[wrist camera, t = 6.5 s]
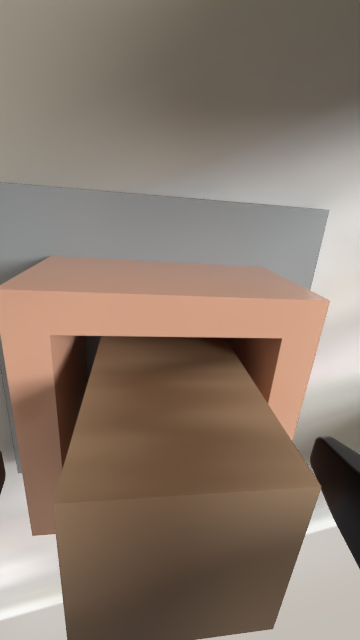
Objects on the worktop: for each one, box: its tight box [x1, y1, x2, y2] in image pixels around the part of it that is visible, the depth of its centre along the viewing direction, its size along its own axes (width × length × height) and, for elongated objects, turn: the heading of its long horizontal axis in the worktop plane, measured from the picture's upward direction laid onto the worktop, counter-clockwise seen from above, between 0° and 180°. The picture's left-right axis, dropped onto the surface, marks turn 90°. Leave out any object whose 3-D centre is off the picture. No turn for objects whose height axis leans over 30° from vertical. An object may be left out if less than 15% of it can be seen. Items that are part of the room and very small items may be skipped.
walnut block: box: [53, 336, 321, 640], centre depth 10 cm, size 4×4×9 cm
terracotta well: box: [0, 182, 330, 536], centre depth 12 cm, size 14×14×6 cm
